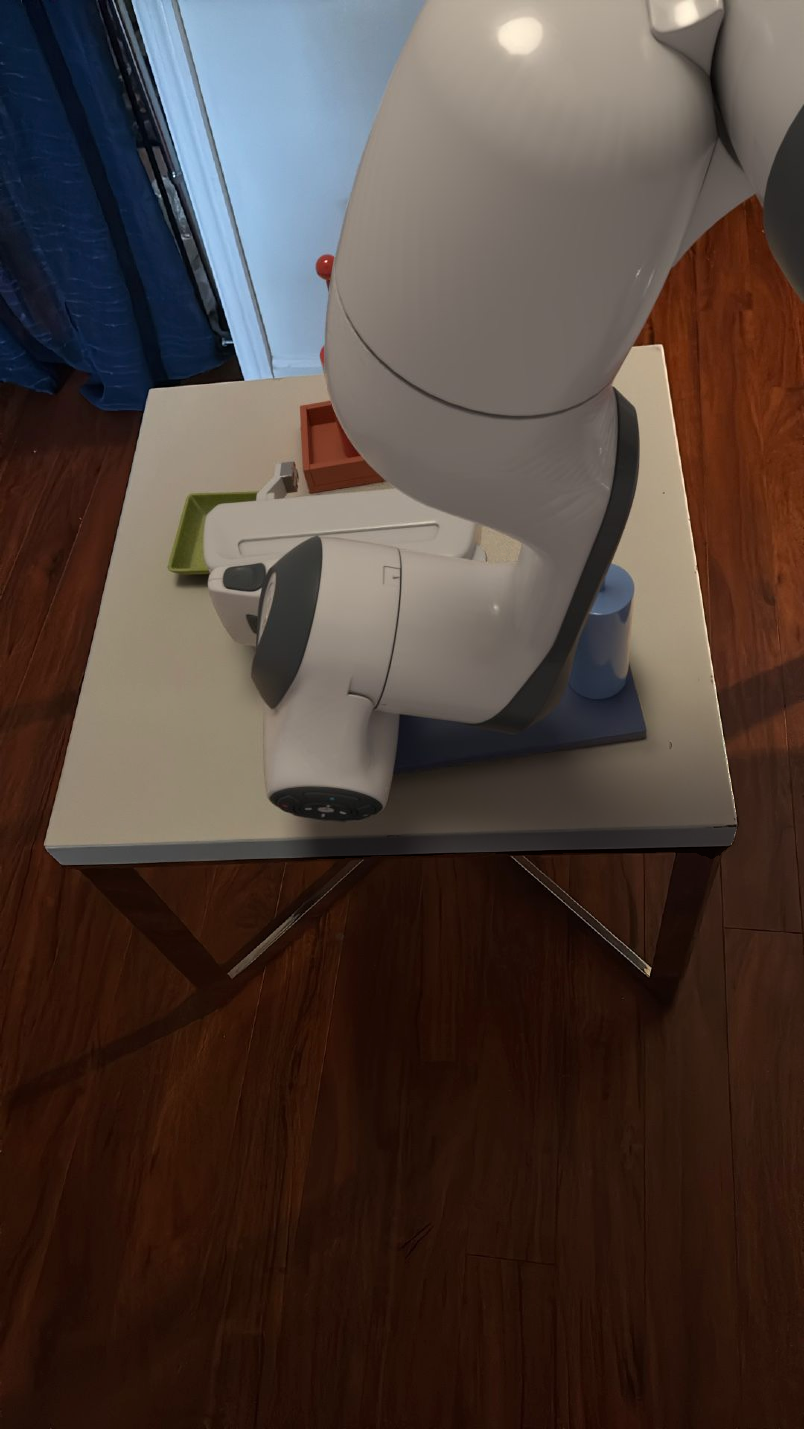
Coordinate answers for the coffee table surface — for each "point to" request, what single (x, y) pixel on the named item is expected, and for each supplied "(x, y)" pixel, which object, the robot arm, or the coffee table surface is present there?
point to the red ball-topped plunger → (324, 272)
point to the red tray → (329, 453)
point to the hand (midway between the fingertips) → (347, 462)
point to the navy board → (559, 730)
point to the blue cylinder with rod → (605, 639)
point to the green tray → (198, 529)
